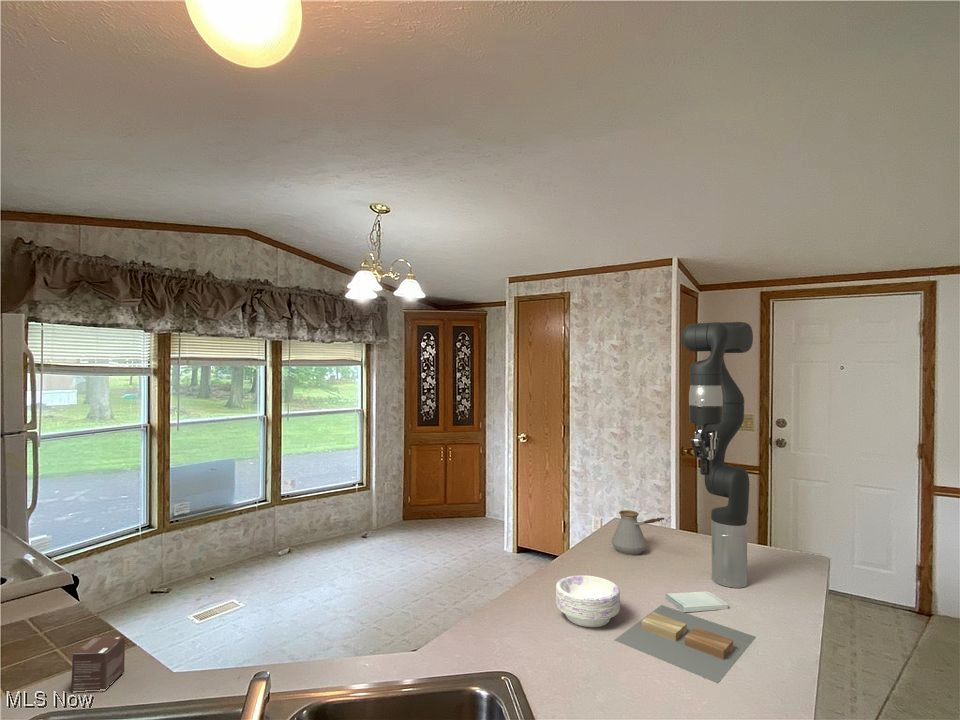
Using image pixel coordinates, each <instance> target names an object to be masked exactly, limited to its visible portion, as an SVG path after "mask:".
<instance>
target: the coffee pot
mask: <svg viewBox="0 0 960 720" xmlns="http://www.w3.org/2000/svg"><path fill="white" fill-rule="evenodd" d="M618 514H619V515H620V520H619V522H618V524H617V526H616V529H615V532H614V534H613V537H612V538H611V540H610V541H611V544H612V546H613V548H614V549H615V550H617V552H618V553H620V554H622V555H626V556H627V555H628V556H637V555H640V554H642V552H644V551H645V550H646V547H647V546H648V545H647V540H646V539H645V536H644V534H643V531H642V529H641V527H640V526H641V525H644V524H645V525H646V524H653V523H656V522H661V524H662V525H664V523H663V521H664V520H665V521H666V522H665V524H668V521H667V519H666V517H657V518H649V519H647V520H644V521H638V516H639V515H640V514H639V512H637V511H635V510H628V509H627V510H620V511H618Z"/></svg>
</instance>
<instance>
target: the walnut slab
mask: <svg viewBox="0 0 960 720" xmlns="http://www.w3.org/2000/svg"><path fill="white" fill-rule="evenodd" d="M685 645H686V646H688V647H691V648H694V649H696V650H699V651H701V652H704V653H707V654H709V655H712V656H715V657H717V658H720V659H722V660H724V659H725V658H726V656H727V655H728V654H729V653H730V652H731V651H732V650H733V640H731V639H728V638H726V637H723V636H720V635H717V634H714V633H711V632H708V631H706V630H703V629H700V628H697V627H695V628H694V629H693V630H692V631H690V632H689V633H688V634H687V635H686V636H685Z"/></svg>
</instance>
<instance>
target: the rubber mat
mask: <svg viewBox="0 0 960 720" xmlns="http://www.w3.org/2000/svg"><path fill="white" fill-rule="evenodd" d="M653 612H654V613H657V614H660V615H663V616H666V617H669V618H671V619H674V620H677V621H680V622H683V623H686V624H687V632H686V633H685V634H684V635H683V636H681V637H680V638H679V639H678V640H677V641H676V642H675V641H673V640H670V639H668V638H665V637H662V636H660V635H657V634H654V633H652V632H649V631H647V630H644V629H642V620H643V619H645V618H646V617H647V616H649V615H650V614H651V613H653ZM695 627H697V628H700V629H703V630H706V631H708V632H711V633H714V634H717V635H720V636H723V637H726V638H728V639H731V640H733V650H732V651H731V652H730V653H729V654H728V655H727V656H726V658H725V659H724V660H722V659H720V658H717V657H715V656H712V655H709V654H707V653H704V652H701V651H699V650H696V649H694V648H691V647H688V646H686V645H685V636H686V635H687V634H688V633H689V632H690V631H692V630H693V629H694V628H695ZM756 638H757V636H755V635H752V634H749V633H746V632H744V631H740V630H737V629H734V628H732V627H728V626H725V625H722V624H719V623H716V622H714V621H713V622H712V621H710V620H708V619H705V618H701V617H698V616H695V615H693V614H689V613H688V612H682V611H681V610H679V609H675V608H671V607H669V606H665V605H664V604H661V605H660V606H658V607H657V608H655V609H654V610H652V611H651V612H650V613H648V614H647V615H646V616H645V617H643V618H642V619H640V620H639V621H637V622H636V623H635V624H633V626H631V627H629V628H628V629H627V630H626V631H624V632H623V633H621V635H619V636H617V637H616V638H615V639H614V641H615V642H618V643H620V644H622V645H624V646H627V647H629V648H632V649H634V650H637V651H639V652H642V653H644V654H646V655H648V656H651V657H654V658H656V659H658V660H660V661H663V662H666V663H667V664H671V665H673V666H675V667H678V668H679V669H682V670H685V671H687V672H689V673H692V674H693V675H697V676H699V677H702V678H703V679H707V680H709V681H711V682H714V683H716V684H719V683H720V682H721V681H722V680H723V678H724V677H725V676H726V675H727V673H728V672H729V671H730V670H731V668H732V667H733V666H734V665H735V663H736V662H737V661H738V660H739V659H740V657H741V656H742V655H743V654H744V653H745V651H746V650H747V649H748V648H749V646H750V645H752V643H753V642H754V640H755V639H756Z"/></svg>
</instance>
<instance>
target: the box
mask: <svg viewBox="0 0 960 720" xmlns="http://www.w3.org/2000/svg"><path fill="white" fill-rule="evenodd" d="M125 647H126V636H125V635H120V636H119V635H118V636H117V635H116V636H94V637H92V638H91V639H90V640H89V641H87V642H86V643H85V644H83V645H82V646H80V647H79V648H78V649H77V650H75V651H74V652H73V653H72V663H71V683H70V684H71V686H70V688H71V689H70V693H71V692H73V691H85V690H100V689H106V688H107V687H108V686H109V685H110V684H111V683H112V682H113V681H115V680H116V679H117V678H118V677H119V676H120V675H121V674H122V673H123V672H124V673H125V659H126V658H125V652H126V648H125ZM124 673H123V674H124ZM123 674H122V675H123ZM122 675H121V676H122ZM121 676H120V677H121ZM120 677H119V678H120ZM119 678H118V679H119ZM118 679H117V680H118ZM117 680H116V681H117ZM116 681H115V682H116Z"/></svg>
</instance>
